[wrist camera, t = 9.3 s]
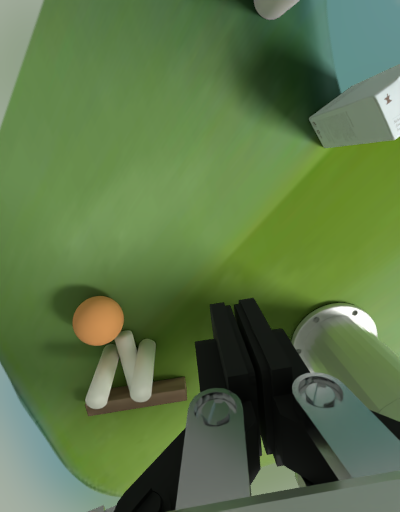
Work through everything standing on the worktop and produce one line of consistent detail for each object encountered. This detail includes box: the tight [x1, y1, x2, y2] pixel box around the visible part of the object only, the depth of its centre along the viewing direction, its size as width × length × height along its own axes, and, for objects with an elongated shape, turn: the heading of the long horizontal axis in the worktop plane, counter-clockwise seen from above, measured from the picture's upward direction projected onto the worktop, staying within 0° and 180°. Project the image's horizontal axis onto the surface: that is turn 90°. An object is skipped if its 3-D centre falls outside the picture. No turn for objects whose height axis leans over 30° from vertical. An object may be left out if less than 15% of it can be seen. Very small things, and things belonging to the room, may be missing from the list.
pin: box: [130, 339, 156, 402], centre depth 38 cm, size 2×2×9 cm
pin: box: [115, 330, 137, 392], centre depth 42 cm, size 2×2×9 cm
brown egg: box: [73, 296, 124, 346], centre depth 37 cm, size 6×6×6 cm
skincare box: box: [309, 64, 400, 148], centre depth 29 cm, size 6×4×12 cm
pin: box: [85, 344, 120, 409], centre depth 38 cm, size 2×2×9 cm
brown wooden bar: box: [85, 377, 187, 416], centre depth 44 cm, size 2×14×2 cm, turn 97°
